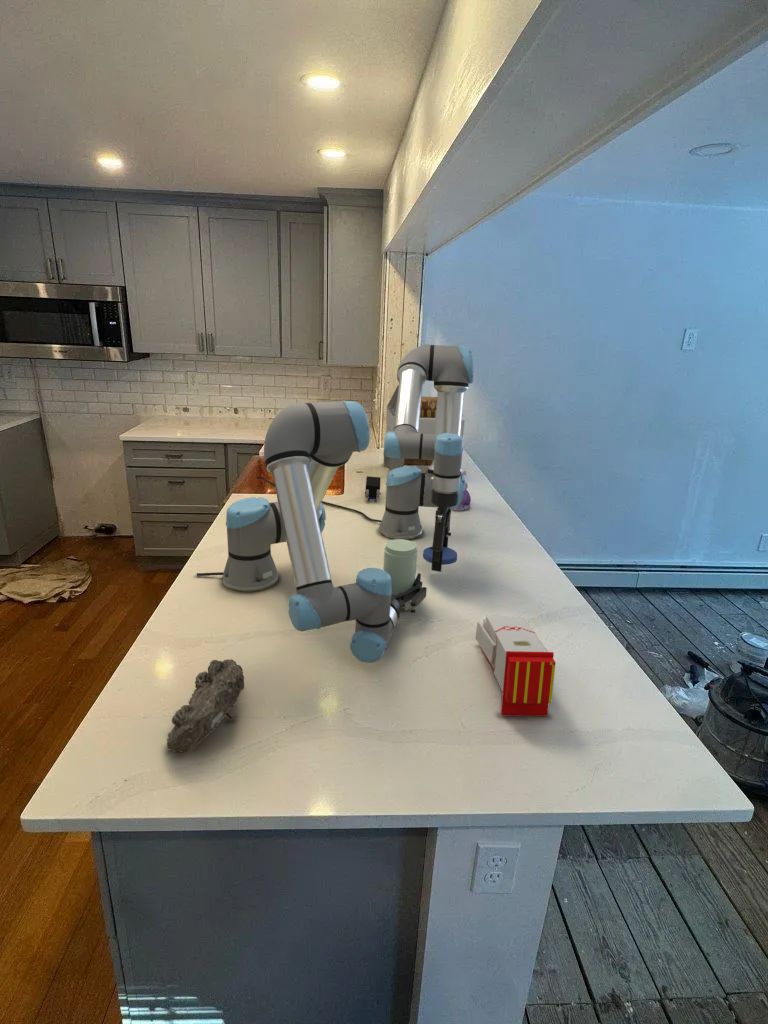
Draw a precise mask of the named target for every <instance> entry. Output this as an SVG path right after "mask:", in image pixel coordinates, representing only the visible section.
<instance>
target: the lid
mask: <svg viewBox="0 0 768 1024" xmlns="http://www.w3.org/2000/svg"><path fill="white" fill-rule="evenodd" d="M431 547H432V546H429V547H426V548H424V549H423V551H422V558H423V559H424V560H425V561H426V562H427V563H429V564H432V556H433V550H430V548H431ZM442 548H443V556H442V566H447V565H451V564H454V563H456V562H457V560H458V553H457V551H456V550H455V549H453V548H451V547H442Z"/></svg>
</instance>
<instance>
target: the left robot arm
mask: <svg viewBox="0 0 768 1024" xmlns="http://www.w3.org/2000/svg"><path fill="white" fill-rule="evenodd" d="M370 440H371V431H370V423H369V419H368V415H367V413H366V409H364V406H362V405H361V404H360V402H357V401H350V400H345V399H344V400H336V401H317V402H295V403H291V404H290V405H287V406H286V407H284V408H282V409H281V410H280V411H279V412H278V413H277V414H276V415H275V416H274V417H273V419H272V421H271V422H270V424H269V426H268V429H267V431H266V434H265V437H264V443H263V444H264V445H263V459H264V463H265V468H266V469H265V470H266V471H267V472H269V473H270V474H271V475H272V479H273V484H275V486H274V489H275V493H276V498H277V501H273V502H272V501H271V502H270V501H269V500H268V499H267V498H265V497H260V496H258V497H255V496H253V497H247V498H242V499H239V500H237V501H235V502H233V503H231V504H230V505H229V506H228V508H227V509H226V517H225V519H226V520H225V526H226V537H227V538H226V539H227V554H228V555H227V560H226V563H225V567H224V570H223V571H222V572H219V571H218V572H217V571H216V572H197V573H196V576H197V577H207V576H222V583H223V585H224V586H225V587H226V588H228V589H229V590H232V591H236V592H242V593H253V592H260V591H264V590H266V589H269V588H271V587H273V586H274V585H276V584H277V582H278V580H279V572H278V569H277V567H276V563H275V561H274V558H273V556H272V551H271V550H272V549H271V547H272V545H275V544H281V543H286V546H287V551H288V556H289V561H290V566H291V571H292V575H293V579H294V580H293V581H294V585H295V588H296V594H294V595H292V596H290V598H288V603H287V606H288V616H289V620H290V623H291V624H292V626H293V628H294V629H295V630H296V631H298V632H299V631H300V632H306V631H312V630H320V629H322V628H325V627H329V626H332V625H337V624H340V623H341V624H342V623H345V622H351V621H355V628H354V633H353V634H352V636H351V640H350V643H349V648H350V652H351V654H352V656H353V657H354V658H355V659H357V660H358V661H360V662H362V663H366V664H372V663H373V664H374V663H376V662H377V661H379V660H380V659H381V658H382V657H383V655H384V653H385V652H386V651H387V647H388V644H389V642H390V640H391V637H392V635H393V633H394V631H395V628H396V625H397V623H398V621H399V619H400V617H401V614H402V612H405V611H406V610H405V609H408V610H409V611H410V613H412V614H414V613H415V614H416V611H417V608H418V607H419V606H420V604H421V603H422V602H423V601H424V600H425V599H426V598H427V591H428V589H427V588H428V587H426V586H423V581H422V579H421V578H422V577H421V576H422V573H419V572H418V573H417V575H416V576H415V582H414V585H413V587H412V588H410V589H409V590H407V591H405V592H403V593H401V592H400V593H398V594H397V595H392V583H391V576H390V575H389V574H388V573H387V572H386V571H384V570H383V569H381V568H377V567H367V568H364V569H362V570H360V571H359V572H358V573H357V575H356V579H355V582H353V583H348V584H343V585H338V586H334V585H333V581H332V580H333V579H332V576H331V571H330V565H329V562H328V556H327V552H326V548H325V547H326V546H325V543H324V539H323V534H322V533H323V531H324V530H325V526H326V519H327V517H326V516H327V515H326V514H327V513H326V509H325V506H324V503H322V501H323V499H324V497H325V496H326V494H327V491H328V489H329V487H330V485H331V484H332V481H333V480H334V477H335V475H336V473H337V471H338V469H339V468H340V467H342V466H344V465H346V464H347V463H348V462H349V461H350V459H351V457H352V455H353V453H356V452H358V453H361V452H364V451H366V450H367V449H368V447H369V445H370ZM408 601H409V603H408V604H405V603H407V602H408ZM404 610H405V611H404Z"/></svg>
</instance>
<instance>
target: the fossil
mask: <svg viewBox="0 0 768 1024" xmlns="http://www.w3.org/2000/svg"><path fill="white" fill-rule="evenodd" d="M243 670H244V669H243V667H242V665H240V664H237V662H236V661H235V660H234V659H232V658H231V659H227V658H226V659H224V660H223V661H222V660H217V659H212V660H211V661H210V663H209V665H208V666H207V671H201V672H199V673H198V674H197V675H196V676H195V680H194V684H195V685H194V687H195V689H194V690H193V693H192V694H191V697H190V698H189V700H188V704H184V705H182V706H181V707H180V709H177V710H176V711H175V713H174V715H173V716H172V718H171V723H172V724H173V727H172V730H171V731H170V732H168V734H167V738H166V741H167V742H166V745H167V749H168V750H169V751H173V752H174V753H176V754H178V753H182V752H188V751H189V752H192V751H193V750H195V748H196V747H197V746H199V744H200V743H201V742H203V741H204V740H205V739H206V738H207V737H208V736H209V735H210V734H211V733H212V732H214V730H215V729H217V727H218V726H219V724H220V722H221V721H222V720H223V719H224V718H225V716H226V717H227V719H229V720H233V717H232V715H230V714H229V710H230V709H231V708H234V706H235V704H236V703H237V702H238V699H239V697H240V695H241V693H242V691H243V690H245V689H244V688H245V675H244V671H243Z"/></svg>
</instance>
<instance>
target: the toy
mask: <svg viewBox="0 0 768 1024" xmlns="http://www.w3.org/2000/svg"><path fill="white" fill-rule="evenodd" d="M476 622H477V623H476V631H475V640H476V642H477V644H478V646H479V648H480V650H481V652H482V653H483V656H484V658H485V659H486V661H487V663H488V664H489V666H490V668H491V670H492V672H493V673H494V677H495V679H496V681H497V683H498V686H499V688H500V690H501V692H502V696H501V697H502V698H501V710H500V715H501V716H514V717H515V716H517V717H518V716H520V717H523V716H524V717H548V712H549V704H552V700H553V692H554V681H555V672H556V664H557V663H556V661H555V659H554V654H555V653H554V651H548V649H547V648H546V646H545V645H544V644H543V642H542V641H541V639H540V638H539V636H538V635H537V634H536V632H535V630H534V629H533V627H532V626H531V624H530V622H529V621H528V620H527V619H526V617H525V616H524V615H523V616H522V615H521V616H520V615H486V616H485V617H483V621H482V623H481V621H476Z"/></svg>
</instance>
